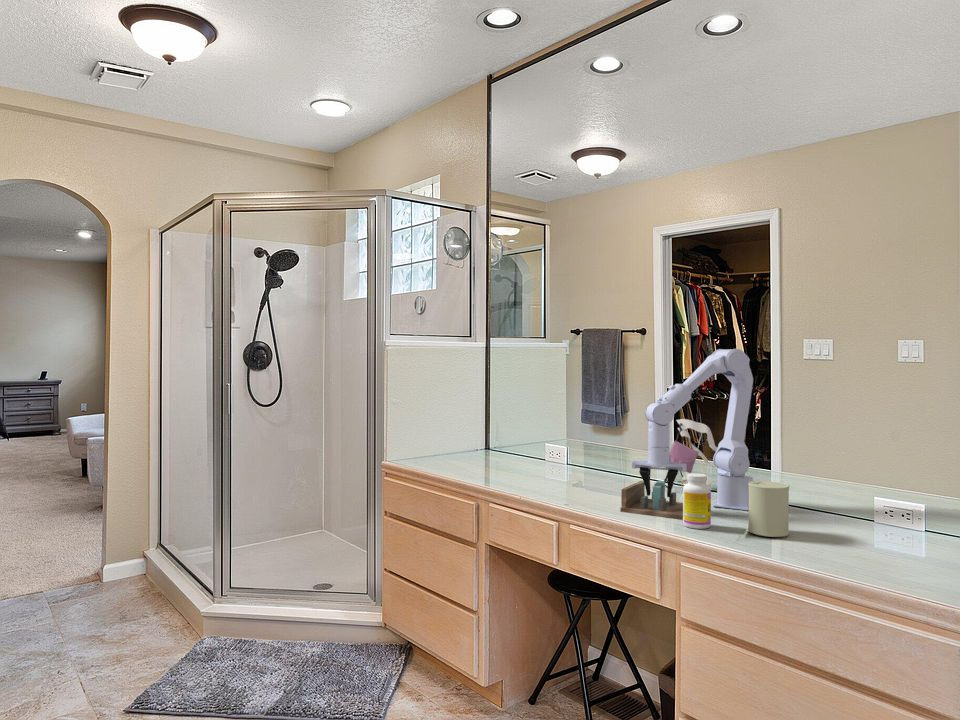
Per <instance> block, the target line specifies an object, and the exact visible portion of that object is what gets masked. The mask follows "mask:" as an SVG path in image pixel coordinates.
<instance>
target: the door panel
mask: <svg viewBox="0 0 960 720" xmlns="http://www.w3.org/2000/svg"><path fill="white" fill-rule="evenodd" d="M665 485H666V483H665V481H664V480H656V482H655V483H654V485H653V486H652V492H653V509H656V510H659V499H661V498H666V488H665Z"/></svg>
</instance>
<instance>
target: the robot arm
mask: <svg viewBox="0 0 960 720" xmlns="http://www.w3.org/2000/svg"><path fill="white" fill-rule="evenodd" d="M750 361H751V360H750V358H749V356H748V355H747V354H746V353H745V352H744V351H743V350H742V349H740V348H733V349H731V348H730V349H723V348H718V349H716V350H715V351H713V352H712V354H710V355H708V356H707V357H706V358H705V359H704V361H703V362H702V363H701V364H700V365H699V366H698V367H697V368H696V369H695V370H694V371H693V372H692V373H691V374H690V375H689V377H687V379H685V381H684V382H683V383H675V384H674V385H673V384H671V385H670V386H669V387H668V391H666V392H665V393H664V394H663V395H662V396H661V397H658V398H657V399H656V402H654V403H651V404H648V406H647V408H646V411H645V412H644V418H645V419H646V420H647V422H648V428H647V429H648V430H647V431H648V433H647V434H648V436H647V441H648V442H647V443H648V444H647V447H648V455H647V456H648V457H647V460H632V461H631V469H639V471H638V473H639V475H640V477H641V479H642V481H644V484H645V492H646V496H648V497H649V496H651V493H652V492H651V472H652V471H651V470H658V471H659V470H661V471H662V470H663V471H667V472H666V476H667V477H668V478H667V481H668V482H667V486H668V488H667V492H666V498H669V497H670V496H671V493H672V490H673V487H674V486H673V485H674V483H675V481H676V478H677V475H678V474H679V472H680V471H681V472H682V473H684V472H685V473H687V472H686V464H684V463H674V462H670V461H671V460H670V450H671V448H670V444H671V443H670V441H671V438H670V436H671V435H670V432H671V430H670V427H671V425H670V423H672V422H673V420H674V418H675V414H676V413H677V412H678V411H680V409H682V407H684V406H685V405H686V404H687V403H689V401H690V400H692V392H694V391H695V390H696V389H697V388H699V387H700V386H701V385H702V384H704V382H705V381H707V380H708V379H709V378H711V377H712V376H713V375H717V374H722V375H724V376H725V377H726V379H727V380H728V381H729V382H730V383H731V388H730V393H729V402H728V406H727V407H728V409H727V414H726V420H725V427H724V434H723V438H722V440H720V441H719V443H718V445H717V447H718V449H717V451H715V453H714V454H713V458H712V462H713V466H714V467H715V468H716V469H717V470H716V473H717V474H716V475H717V478H716V479H717V483H716V484H717V485H716V486H717V487H716V488H717V491H716V493H717V496H716V497H717V498H716V499H717V501H715V503H714V504H712V506H713V507H716V508H724V509H731V510H732V509H733V510H741V511H749V485H748V483H749V482H753V481H754V478H753V476H748V475H746V473H747V472H748V471H749V468H750V464H751V463H750V460H749V449H748V446H747V445H746V443H745V438H746V432H747V431H746V430H747V424H748V418H749V417H748V416H749V411H750V406H751V398H752V391H753V385H754V377H753V373H752V369H751V368H750V367H751V366H750ZM668 470H669V471H668Z"/></svg>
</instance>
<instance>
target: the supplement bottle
mask: <svg viewBox="0 0 960 720" xmlns="http://www.w3.org/2000/svg"><path fill="white" fill-rule="evenodd" d="M686 476H687V477H686V480H687V479H688V484H686V483H685V484H683V485H684V487H683V486H682V503H683V520H682V524H683V526H685V527H687V528H688V529H689V528H690V529H694V530H695V529H697V530H706V529H709V528H711V525H712V523H711V521H712V518H711V517H712V499H711V498H712V489H711V487H710V486H709V485H707V480H708V475H707V474H704V473H696V472H695V473H692V472H691V473H690V474H689V473H687V475H686Z"/></svg>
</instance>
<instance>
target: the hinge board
mask: <svg viewBox="0 0 960 720" xmlns="http://www.w3.org/2000/svg"><path fill="white" fill-rule="evenodd" d="M645 492H646V488H645V484H644V481H643V480H639V481H637V482H635V483H633V484H630V485H628V486H626V487H623V488H622V489H621V501H620V503H621V507H620V509H619V510H620V512H622V513H630V514H631V513H632V514H636V515H637V514H638V515H645V516H651V517H661V518H667V519H677V520H682V521H683V502H679V501H677V492H672V491H671V496H670V497H668V498H669V499H668V500H667V497H665V498H661V499H659V510H656V509H653V491H652V492H651V498H649V496H647V495H645Z"/></svg>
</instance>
